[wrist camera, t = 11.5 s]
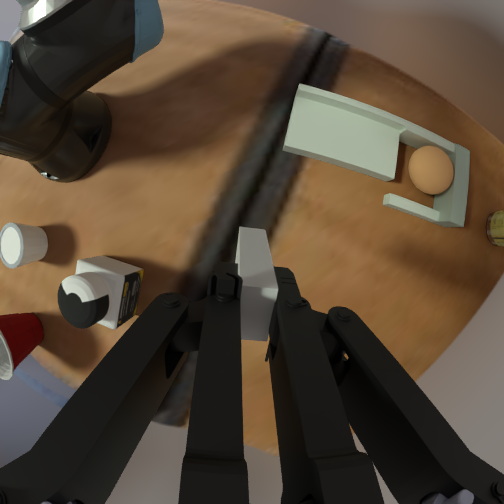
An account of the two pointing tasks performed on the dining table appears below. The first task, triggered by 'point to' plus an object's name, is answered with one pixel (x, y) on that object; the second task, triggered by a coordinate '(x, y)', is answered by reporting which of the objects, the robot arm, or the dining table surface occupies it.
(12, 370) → the plastic cup
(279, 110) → the dining table surface
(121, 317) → the medicine bottle
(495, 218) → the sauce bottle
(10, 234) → the white tapered cup
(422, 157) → the ball
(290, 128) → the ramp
